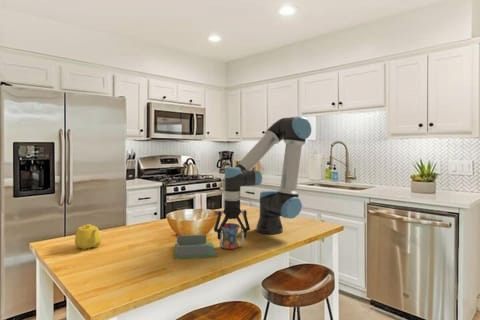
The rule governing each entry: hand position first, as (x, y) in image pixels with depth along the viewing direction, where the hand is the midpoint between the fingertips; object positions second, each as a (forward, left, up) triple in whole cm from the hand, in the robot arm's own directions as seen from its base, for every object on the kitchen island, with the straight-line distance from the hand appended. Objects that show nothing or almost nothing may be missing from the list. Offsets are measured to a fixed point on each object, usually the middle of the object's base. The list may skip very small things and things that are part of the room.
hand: (231, 245), depth 156 cm
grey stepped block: (+18, +3, -1) cm, 18 cm away
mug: (0, 0, -1) cm, 1 cm away
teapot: (+67, -10, -1) cm, 68 cm away
